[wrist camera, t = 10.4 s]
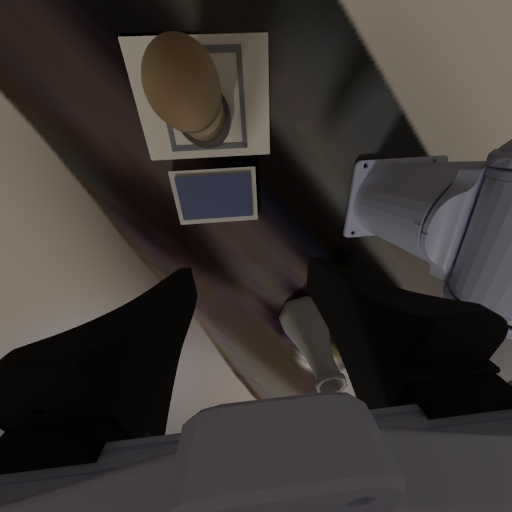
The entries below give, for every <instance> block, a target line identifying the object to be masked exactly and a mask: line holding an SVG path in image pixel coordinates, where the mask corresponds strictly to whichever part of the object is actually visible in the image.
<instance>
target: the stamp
mask: <svg viewBox="0 0 512 512" xmlns="http://www.w3.org/2000/svg"><path fill="white" fill-rule="evenodd" d="M141 81H142V86H143V90H144V93H145V96H146V98H147V100H148V102H149V104H150V106H151V107H152V109H153V110H154V112H155V113H156V114H157V115H158V116H159V117H160V118H161V119H162V120H163V121H164V122H165V123H167V124H168V125H170V126H171V127H173V128H175V129H176V130H179V131H181V132H182V133H183V135H184V136H185V137H186V138H187V139H188V140H189V141H190V142H192V143H194V144H195V145H197V146H199V147H202V148H214V147H217V146H219V145H220V144H221V143H222V142H224V140H225V139H226V137H227V136H228V133H229V131H230V126H231V116H230V110H229V106H228V103H227V101H226V99H225V97H224V95H223V94H222V93H221V84H220V80H219V76H218V72H217V69H216V66H215V64H214V62H213V60H212V58H211V56H210V55H209V53H208V51H207V50H206V49H205V48H204V46H203V45H202V44H201V43H200V42H198V41H197V40H196V39H195V38H193V37H191V36H190V35H188V34H185V33H182V32H178V31H169V32H164V33H161V34H160V35H158V36H156V37H155V38H154V39H153V40H152V41H151V42H150V43H149V44H148V46H147V48H146V50H145V52H144V55H143V58H142V63H141Z"/></svg>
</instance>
